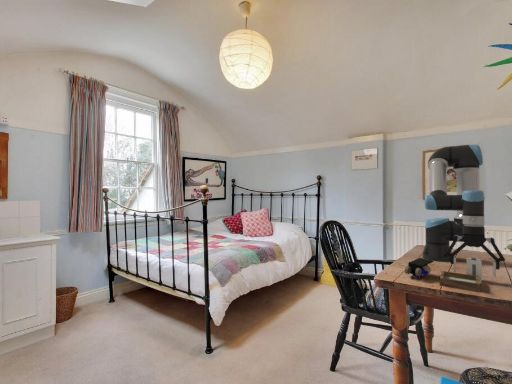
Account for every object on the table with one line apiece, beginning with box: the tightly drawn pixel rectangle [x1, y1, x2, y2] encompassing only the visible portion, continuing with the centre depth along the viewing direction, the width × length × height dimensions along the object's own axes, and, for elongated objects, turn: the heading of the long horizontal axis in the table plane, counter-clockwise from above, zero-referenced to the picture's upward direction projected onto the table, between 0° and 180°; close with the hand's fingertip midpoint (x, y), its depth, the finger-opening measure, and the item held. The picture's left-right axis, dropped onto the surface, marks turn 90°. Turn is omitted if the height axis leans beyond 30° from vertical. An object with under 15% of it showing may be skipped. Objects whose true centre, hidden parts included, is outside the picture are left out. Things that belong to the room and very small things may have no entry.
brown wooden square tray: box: [439, 270, 481, 293], centre depth 116 cm, size 13×13×3 cm
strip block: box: [466, 257, 483, 284], centre depth 121 cm, size 5×5×10 cm
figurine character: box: [404, 257, 434, 281], centre depth 127 cm, size 7×8×15 cm
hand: (474, 274), depth 120 cm, fingers open, 13 cm apart
